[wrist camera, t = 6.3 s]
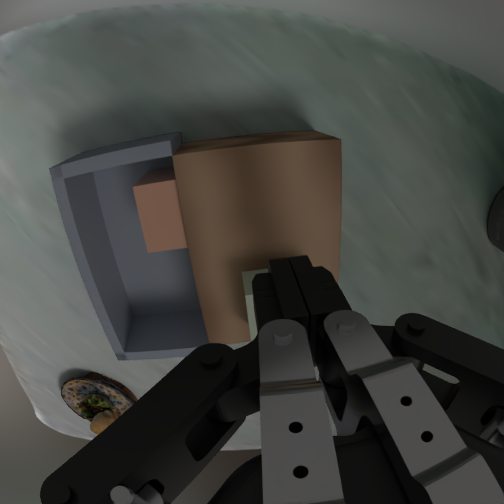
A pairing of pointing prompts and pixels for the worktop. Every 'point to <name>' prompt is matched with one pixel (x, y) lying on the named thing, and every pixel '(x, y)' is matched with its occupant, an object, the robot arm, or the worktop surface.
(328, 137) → the wooden block
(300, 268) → the robot arm
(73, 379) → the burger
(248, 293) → the tile sage
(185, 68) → the worktop surface
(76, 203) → the tray
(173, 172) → the tile terracotta
